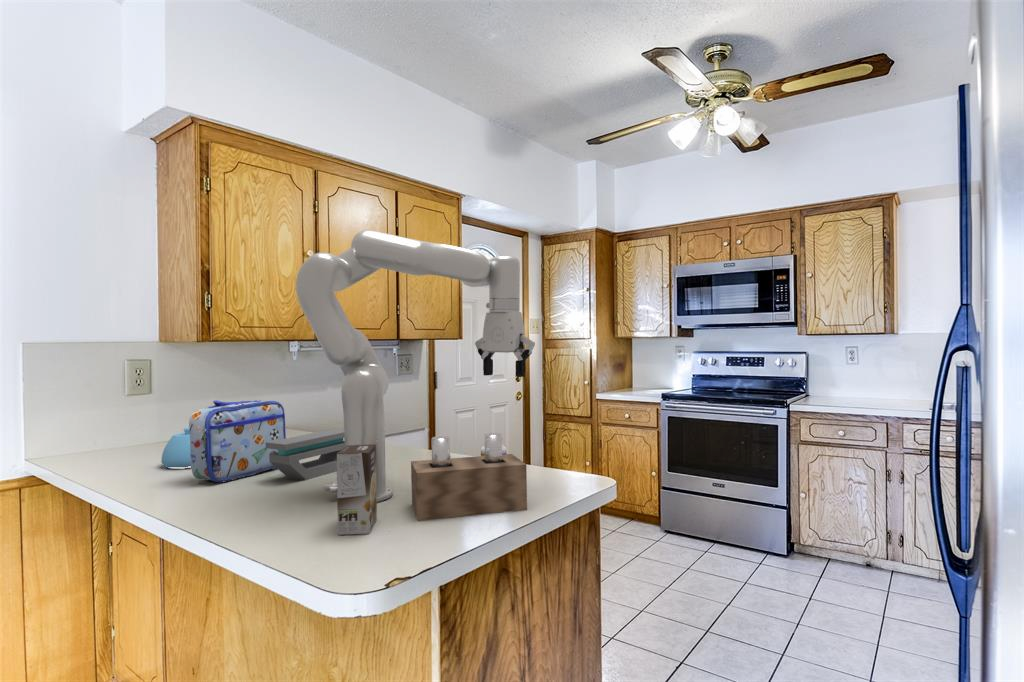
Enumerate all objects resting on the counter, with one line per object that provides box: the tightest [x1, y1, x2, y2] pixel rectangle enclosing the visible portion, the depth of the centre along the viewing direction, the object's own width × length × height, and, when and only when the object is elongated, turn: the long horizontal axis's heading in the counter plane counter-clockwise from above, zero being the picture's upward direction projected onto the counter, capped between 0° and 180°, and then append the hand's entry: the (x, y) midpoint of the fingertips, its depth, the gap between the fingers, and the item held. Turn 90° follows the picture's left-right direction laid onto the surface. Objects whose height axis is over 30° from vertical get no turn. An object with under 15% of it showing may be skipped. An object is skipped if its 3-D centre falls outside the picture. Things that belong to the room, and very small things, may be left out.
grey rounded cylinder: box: [431, 435, 451, 468], centre depth 125 cm, size 4×4×9 cm
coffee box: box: [336, 444, 378, 536], centre depth 114 cm, size 9×6×16 cm
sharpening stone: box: [266, 428, 344, 481], centre depth 161 cm, size 25×8×11 cm, turn 152°
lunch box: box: [188, 399, 287, 483], centre depth 160 cm, size 28×10×22 cm, turn 154°
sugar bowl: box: [161, 427, 191, 467], centre depth 175 cm, size 15×15×12 cm
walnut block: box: [410, 453, 528, 522], centre depth 126 cm, size 24×12×10 cm, turn 106°
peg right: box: [483, 432, 503, 464], centre depth 128 cm, size 4×4×9 cm
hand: (503, 376), depth 139 cm, fingers open, 9 cm apart
